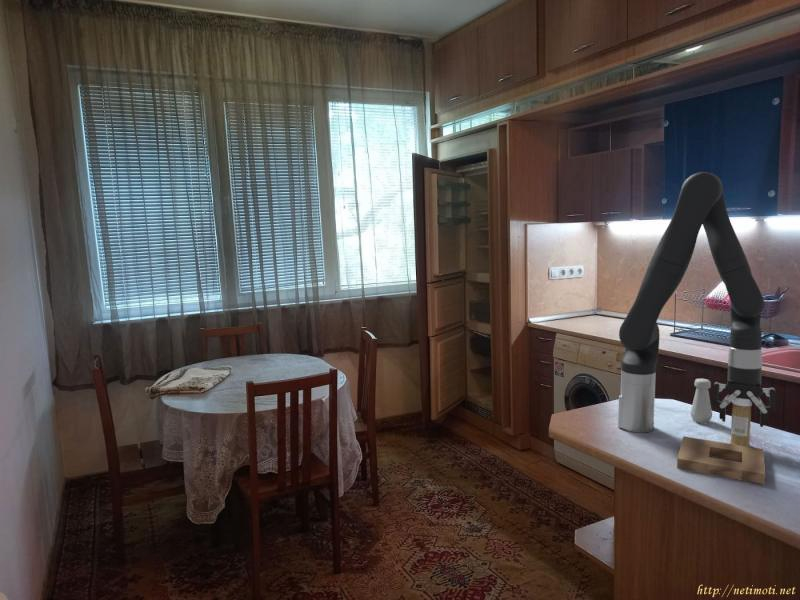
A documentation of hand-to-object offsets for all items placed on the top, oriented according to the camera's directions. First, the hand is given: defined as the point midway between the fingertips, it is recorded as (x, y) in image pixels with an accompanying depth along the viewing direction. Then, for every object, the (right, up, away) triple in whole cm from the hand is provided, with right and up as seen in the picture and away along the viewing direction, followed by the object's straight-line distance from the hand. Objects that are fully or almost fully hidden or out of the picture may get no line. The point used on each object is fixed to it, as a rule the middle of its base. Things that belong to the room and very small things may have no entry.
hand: (742, 423), depth 145 cm
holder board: (-11, -8, -9) cm, 17 cm away
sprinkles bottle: (0, -6, +1) cm, 6 cm away
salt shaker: (0, -4, +19) cm, 20 cm away
